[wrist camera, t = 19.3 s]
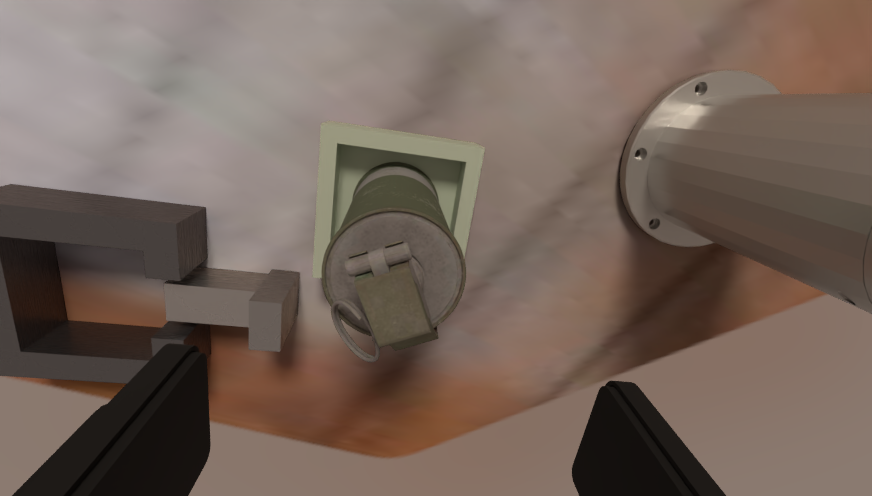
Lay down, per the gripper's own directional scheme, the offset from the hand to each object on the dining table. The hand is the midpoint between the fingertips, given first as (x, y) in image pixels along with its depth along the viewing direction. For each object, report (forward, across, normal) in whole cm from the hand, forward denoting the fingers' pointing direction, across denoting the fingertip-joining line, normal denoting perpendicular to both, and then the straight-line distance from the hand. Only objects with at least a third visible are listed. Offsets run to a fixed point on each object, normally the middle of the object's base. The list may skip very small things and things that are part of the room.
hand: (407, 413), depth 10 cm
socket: (+21, +20, +8) cm, 30 cm away
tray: (+21, +1, 0) cm, 21 cm away
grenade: (+20, +1, 0) cm, 20 cm away
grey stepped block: (+21, +11, +8) cm, 25 cm away
